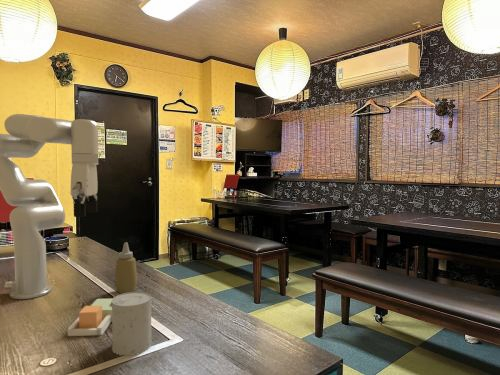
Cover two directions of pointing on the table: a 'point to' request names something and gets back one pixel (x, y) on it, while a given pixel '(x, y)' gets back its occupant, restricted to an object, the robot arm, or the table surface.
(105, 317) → the green plate with dome
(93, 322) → the matte orange cube
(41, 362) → the table surface
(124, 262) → the squeeze bottle
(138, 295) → the speckled stone cylinder
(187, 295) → the table surface
